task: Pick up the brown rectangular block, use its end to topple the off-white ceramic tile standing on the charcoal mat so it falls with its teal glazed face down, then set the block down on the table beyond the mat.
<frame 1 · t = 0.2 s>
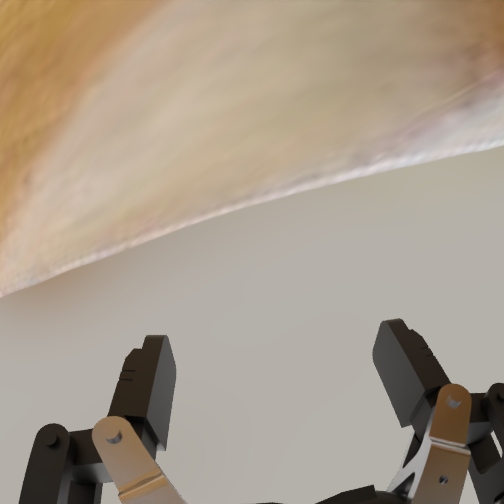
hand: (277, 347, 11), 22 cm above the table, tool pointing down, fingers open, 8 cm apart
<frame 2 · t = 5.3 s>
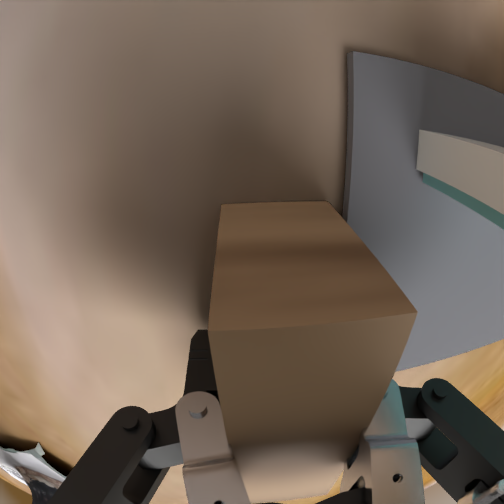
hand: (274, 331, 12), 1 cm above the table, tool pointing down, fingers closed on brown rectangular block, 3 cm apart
brown rectangular block: (273, 322, 12), on the table, touching gripper
head bust: (48, 478, 24), on the table
tile: (497, 162, 9), resting on mat
mat: (473, 244, 11), on the table
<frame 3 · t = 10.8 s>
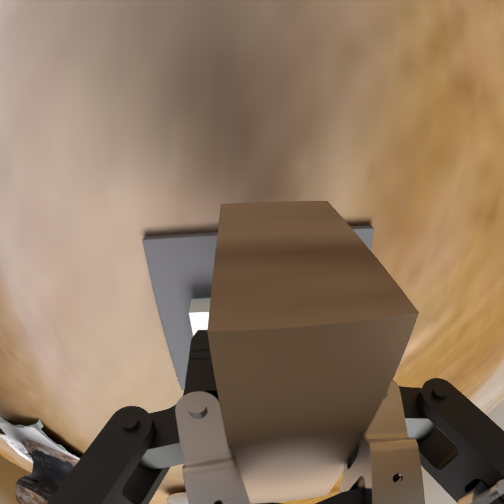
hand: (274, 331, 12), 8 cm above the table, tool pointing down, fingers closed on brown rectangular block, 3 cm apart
flower in vase: (196, 495, 41), on the table
brown rectangular block: (273, 322, 12), point 7 cm above the table, touching gripper
head bust: (46, 452, 35), on the table
tile: (263, 302, 18), point 2 cm above the table, tilted 90°, touching mat
mat: (262, 322, 21), on the table
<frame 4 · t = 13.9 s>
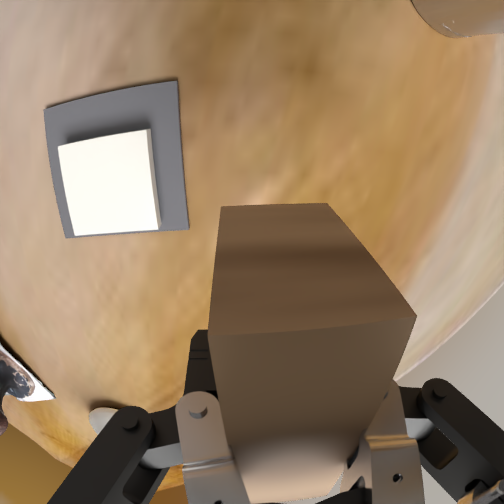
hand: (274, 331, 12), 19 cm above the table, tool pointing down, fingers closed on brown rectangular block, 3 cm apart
flower in vase: (119, 419, 45), on the table
brown rectangular block: (273, 324, 12), point 18 cm above the table, touching gripper
tile: (101, 136, 23), point 2 cm above the table, tilted 90°, touching mat
mat: (111, 164, 26), on the table
when the fingers open (2 cm above the table, at t = 16.6 s): brown rectangular block drops 2 cm, on the table.
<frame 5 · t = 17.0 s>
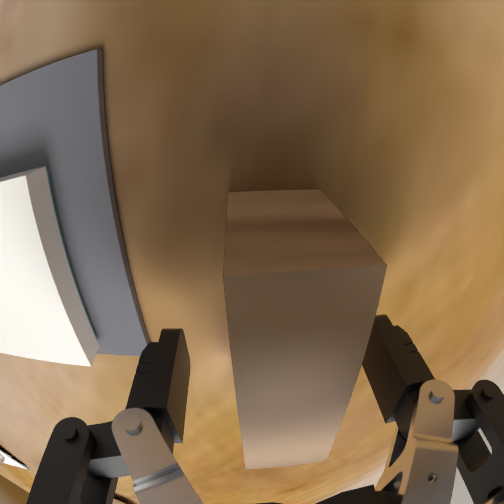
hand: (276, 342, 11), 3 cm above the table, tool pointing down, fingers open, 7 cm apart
flower in vase: (102, 496, 31), on the table
brown rectangular block: (274, 298, 14), on the table
mat: (3, 234, 11), on the table
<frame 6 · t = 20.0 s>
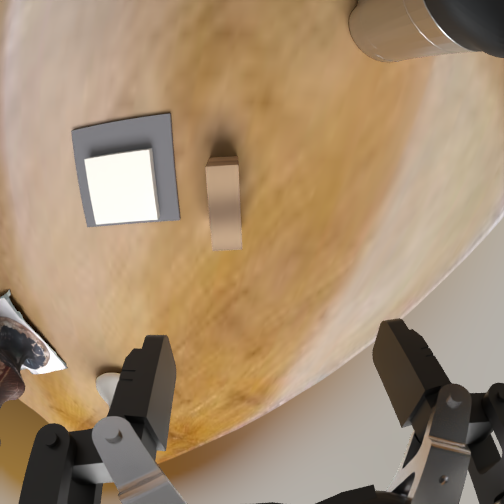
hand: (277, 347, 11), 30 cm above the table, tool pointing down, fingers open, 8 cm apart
flower in vase: (121, 386, 56), on the table
brown rectangular block: (225, 194, 39), on the table
head bust: (12, 340, 50), on the table
tile: (117, 153, 34), point 2 cm above the table, tilted 90°, touching mat
mat: (124, 172, 37), on the table
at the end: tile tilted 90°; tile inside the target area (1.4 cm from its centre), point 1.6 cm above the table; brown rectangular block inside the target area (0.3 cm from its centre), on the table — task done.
